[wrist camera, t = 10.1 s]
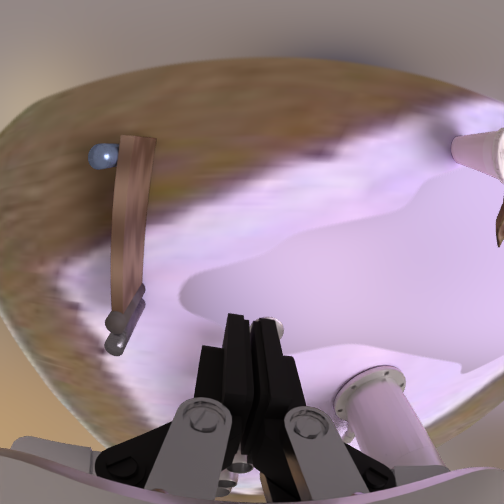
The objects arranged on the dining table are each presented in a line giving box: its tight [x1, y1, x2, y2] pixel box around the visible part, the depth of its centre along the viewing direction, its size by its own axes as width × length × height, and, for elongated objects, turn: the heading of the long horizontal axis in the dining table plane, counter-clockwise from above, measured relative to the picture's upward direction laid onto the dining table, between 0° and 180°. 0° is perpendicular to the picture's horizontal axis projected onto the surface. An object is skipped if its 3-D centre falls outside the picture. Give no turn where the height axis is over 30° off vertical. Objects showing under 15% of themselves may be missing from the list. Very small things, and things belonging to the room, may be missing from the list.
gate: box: [105, 135, 156, 334], centre depth 26 cm, size 18×2×8 cm, turn 169°
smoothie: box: [451, 128, 504, 184], centre depth 23 cm, size 6×6×14 cm
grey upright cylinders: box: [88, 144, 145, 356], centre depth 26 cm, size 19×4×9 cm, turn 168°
